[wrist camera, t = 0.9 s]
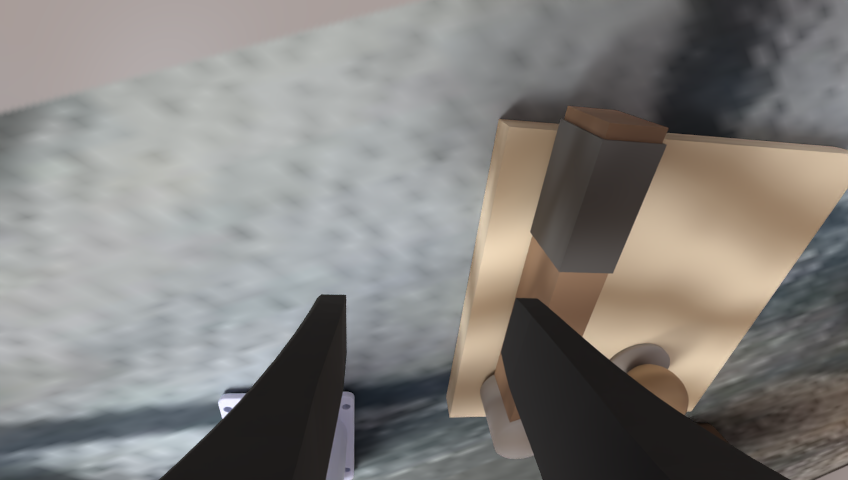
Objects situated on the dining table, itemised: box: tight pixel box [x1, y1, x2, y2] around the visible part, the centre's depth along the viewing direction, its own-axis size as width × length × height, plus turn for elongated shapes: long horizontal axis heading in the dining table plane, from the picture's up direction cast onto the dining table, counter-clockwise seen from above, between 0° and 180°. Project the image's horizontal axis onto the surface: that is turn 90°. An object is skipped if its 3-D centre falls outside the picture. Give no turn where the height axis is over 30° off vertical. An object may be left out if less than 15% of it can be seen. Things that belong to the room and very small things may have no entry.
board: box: [446, 119, 848, 417], centre depth 19 cm, size 18×17×5 cm
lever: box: [480, 106, 668, 459], centre depth 17 cm, size 18×3×3 cm, turn 174°
